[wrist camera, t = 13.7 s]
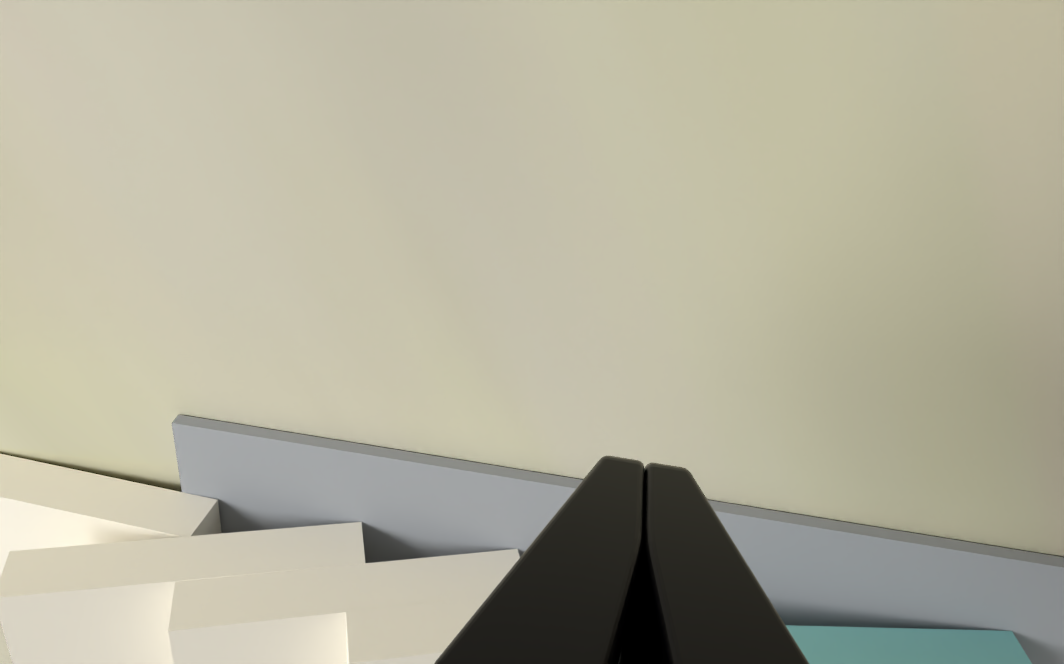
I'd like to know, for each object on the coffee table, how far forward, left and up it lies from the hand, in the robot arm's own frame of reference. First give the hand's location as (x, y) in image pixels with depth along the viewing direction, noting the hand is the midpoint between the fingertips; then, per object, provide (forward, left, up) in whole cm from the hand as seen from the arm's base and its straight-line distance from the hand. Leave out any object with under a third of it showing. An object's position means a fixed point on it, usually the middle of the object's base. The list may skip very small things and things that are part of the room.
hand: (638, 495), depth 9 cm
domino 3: (+7, +13, -11) cm, 18 cm away
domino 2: (+11, +12, -11) cm, 19 cm away
